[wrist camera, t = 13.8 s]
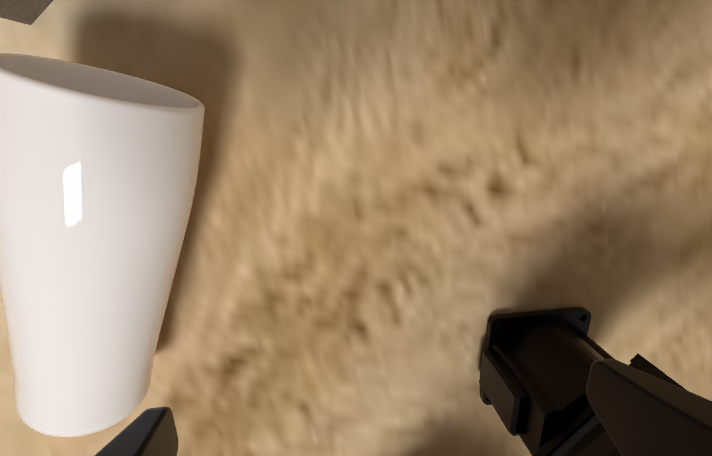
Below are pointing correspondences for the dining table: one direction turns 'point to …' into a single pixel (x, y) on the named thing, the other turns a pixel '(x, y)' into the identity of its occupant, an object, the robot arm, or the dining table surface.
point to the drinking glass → (89, 233)
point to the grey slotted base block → (22, 9)
